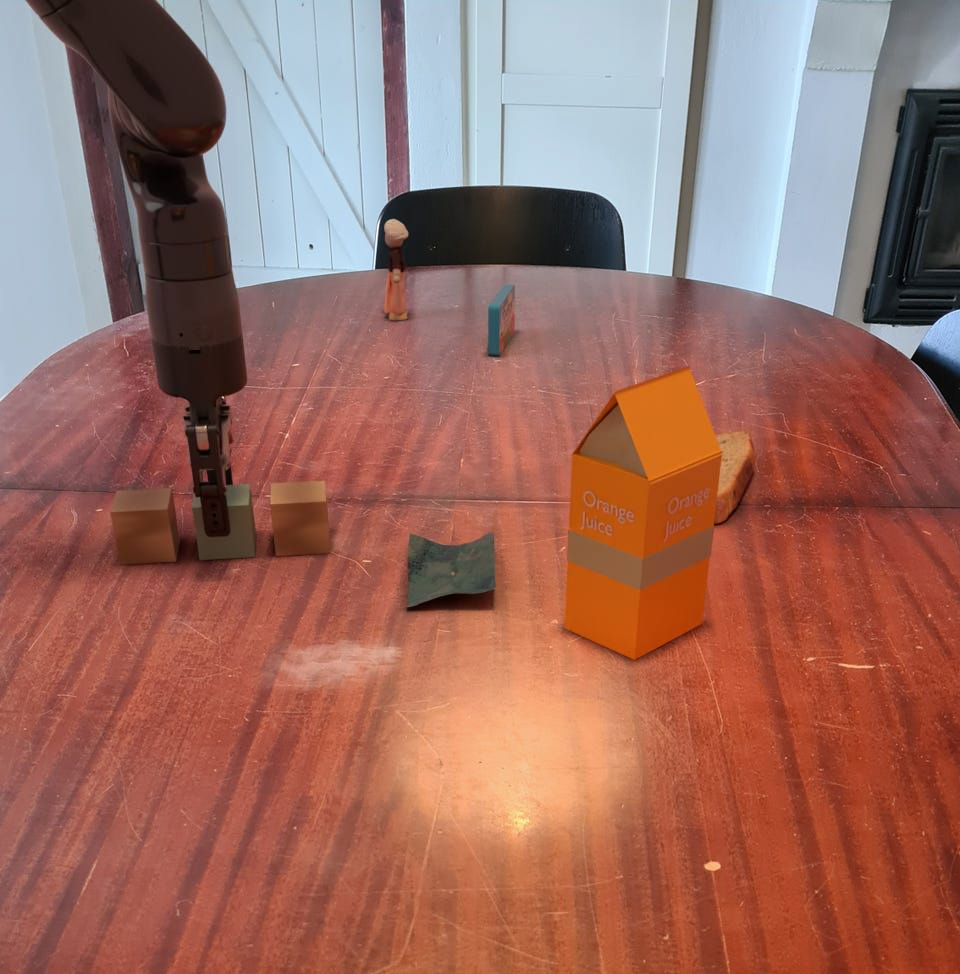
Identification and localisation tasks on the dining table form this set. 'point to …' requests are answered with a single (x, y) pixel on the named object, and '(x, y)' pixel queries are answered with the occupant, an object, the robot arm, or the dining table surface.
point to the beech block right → (300, 518)
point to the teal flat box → (501, 319)
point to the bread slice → (733, 471)
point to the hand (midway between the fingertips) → (220, 516)
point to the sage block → (241, 527)
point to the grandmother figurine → (395, 271)
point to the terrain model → (449, 568)
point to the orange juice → (642, 517)
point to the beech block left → (145, 526)
